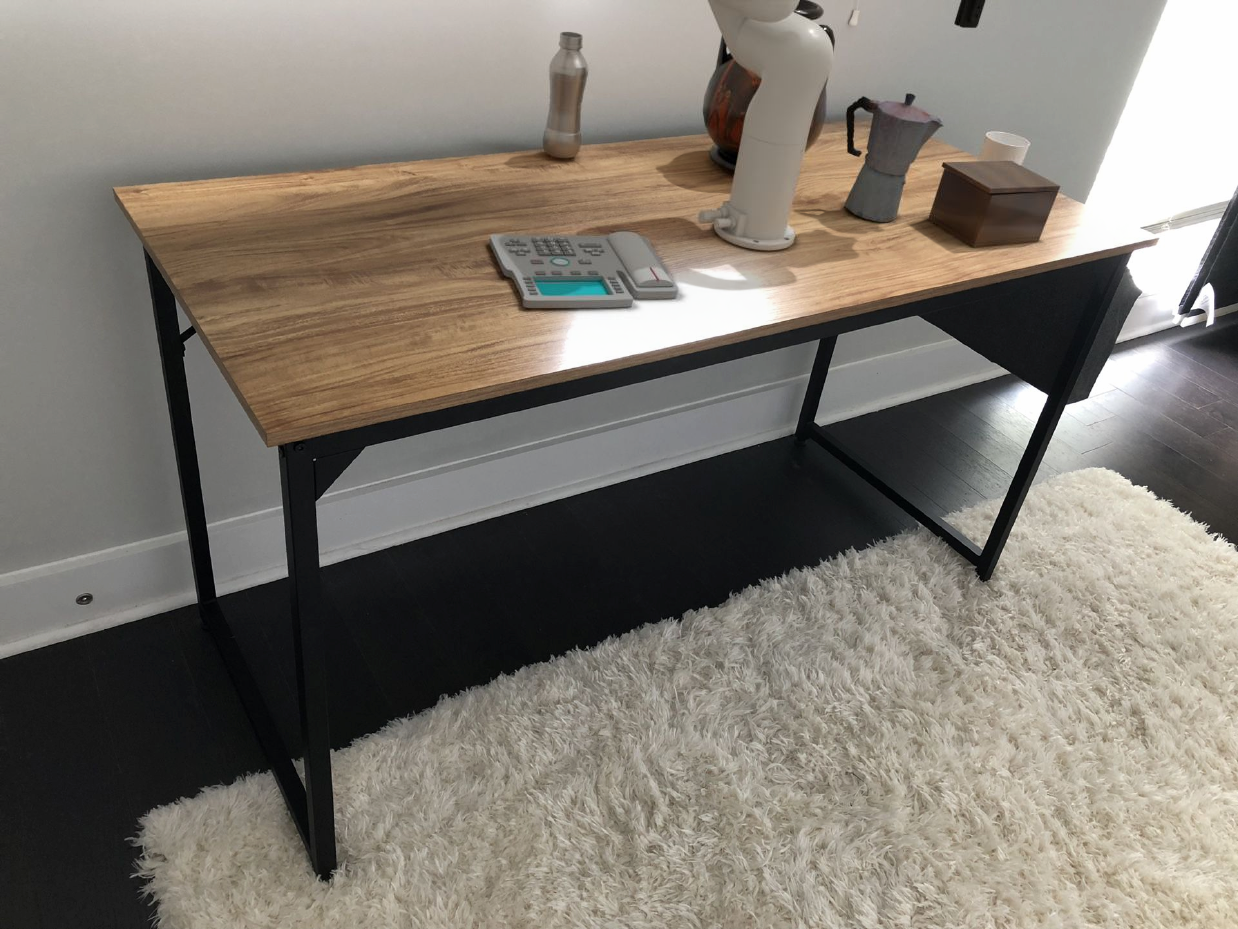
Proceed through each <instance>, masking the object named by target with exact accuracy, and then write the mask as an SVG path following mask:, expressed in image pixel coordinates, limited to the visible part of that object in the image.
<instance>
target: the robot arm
mask: <svg viewBox="0 0 1238 929" xmlns="http://www.w3.org/2000/svg"><path fill="white" fill-rule="evenodd" d="M986 1H987V0H960V3H959V6H958V10H957V13H956V15H955V19H954V23H953V24H954V25H955V26H957V27H960V28H963V29H976V28H977V27H978V26H979V24H980V23H979V22H980V20H981V17H982V13H983V10H984V7H985V4H986ZM707 2H708V5H709V7H710V10H711V12H712V14H713V17H714V19H715V22H716V24H717V27H718V29H719V31H720V34H721V37H722V36H723V38H724V41H725V43H726V45H727V50H728V51H729V53H731V55H732V56H733V58H734V59H735V61H736V62H737V63H738V64H739V65H741V66H742V67H743V68H745V69H746V70H748V71H749V72H751V73H753V74H755V75H756V76H758V77H759V78H761V79H762V81H761V84H760V86H759V88H758V90H757V92H756V93H755V95H754V97H753V98H752V100H751V102H750V104H749V107H748V109H747V113H746V116H745V121H744V126H743V132H742V137H741V143H740V148H739V153H738V158H737V163H736V168H735V173H734V175H733V179H732V185H731V189H730V194H729V200H723V201H722V205H721V206H720V207H718V208H717V209H715V210H714V209H713V210H712V209H704V210H700V211H699V213H698V222H699V223H700V224H713V229H714V232H715V233H716V234H717V235H718V236H719V237H721V239H723V240H725V241H727V242H728V243H731V244H733V245H736V246H738V247H742V248H745V249H752V250H757V251H779V250H784V249H787V248H789V247H791V246H792V245H793V244H794V242H795V238H796V232H795V230H794V229H793V227H792V226H791V225H789V221H790V220H789V219H790V216H791V212H792V208H793V203H794V199H795V194H796V190H797V185H798V180H799V177H800V174H801V169H802V168H801V167H802V164H803V160H804V155H805V153H806V152H805V148H806V143H807V138H808V134H809V130H810V126H811V122H812V118H813V114H814V111H815V108H816V105H817V102H818V99H819V96H820V94H821V91H822V89H823V87H824V85H825V83H826V80H827V78H828V79H829V76H830V72H831V70H832V67H833V62H834V53H833V47H832V43H831V40H830V38H829V36H828V35H827V33H826V32H825V31H824V30H823V29H822V28H821V27H820V26H819V25H820V24H818V23H816V22H815V21H814V20H813V21H811V20H810V19H807V18H805V17H803V16H801V15H799V14H797V13H794V10H795V9H796V7H797V5H798V3H799V0H707ZM827 81H828V80H827ZM804 152H805V153H804Z"/></svg>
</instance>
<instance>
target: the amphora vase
mask: <svg viewBox="0 0 1238 929" xmlns="http://www.w3.org/2000/svg"><path fill="white" fill-rule="evenodd" d="M794 13H797V14H799V15H801V16H803V17H805V18H807V19H810V20H811V21H813V22H814V21H815V20H816V21H817V20H819V19H820V18H822V17H823V15H824V13H825V10H824V9H823V7H822V6H821V5H820V4H818V3H816V2H814V1H812V0H799V3H798V5H797V7H796V9H795V10H794ZM818 25H819V26H820V27H821V28H822V29H823V30H824V31H825V32H826V33H827V35H828V36H829V38H830V40H831V43H832V47H833V54H834V52H835V45H836V38H835V34H834V30H833V29H832V28H831V27H830V26H828V25H827V24H818ZM727 50H728V47H727V45H726V43H725V41H724V38H723V36H722V35H721V37H720V42H719V47H718V52H717V59H716V65H715V69H714V71H713V73H712V74H711V77H710V79H709V81H708V84H707V88H706V89H705V93H704V96H703V102H702V110H701V111H702V116H703V122H704V127H705V128H706V131H707V133H708V136H709V137H710V139H711V141H712V142H713V143H714V144H713V145H712V146H711V148H710V149H709V151H708V158H709V160H710V162H711V163H712V164H713V165H714V166H715V167H716V168H718V169H719V170H720V171H722V172H723V173H727V174H728V175H731V176H734V173H735V168H736V163H737V158H738V153H739V148H740V143H741V137H742V132H743V126H744V121H745V116H746V113H747V109H748V107H749V104H750V102H751V100H752V98H753V97H754V95H755V93H756V92H757V90H758V88H759V86H760V84H761V81H762V79H761V78H759V77H758V76H756V75H755V74H753V73H751V72H749V71H748V70H746V69H745V68H743V67H742V66H741V65H739V64H738V63H737V62H736V61H735V59H734V58H733V56H732V55H731V53H730V52H728V51H727ZM828 80H829V77H828V78H827V80H826V83H825V85H824V87H823V89H822V91H821V94H820V96H819V99H818V102H817V105H816V108H815V111H814V114H813V118H812V122H811V126H810V130H809V134H808V138H807V143H806V148H805V152H804V154H805V153H807V152H808V151H809V150H810V149H811V148H812V147H813V146H814V145H815V144H816V142H817V140H818V139H819V137H820V136H821V134H822V132H823V128H824V125H825V120H826V118H827V106H828V98H827V96H828V95H827V85H828Z"/></svg>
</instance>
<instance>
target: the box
mask: <svg viewBox="0 0 1238 929" xmlns="http://www.w3.org/2000/svg"><path fill="white" fill-rule="evenodd" d="M1058 193H1059V191H1036V192H1011V193H987V192H986V191H984V190H982V189H980V188H978V187H977V186H975V185H973V184H971V183H970V182H968V181H966V180H964V179H962V178H961V177H959V176H957V175H955V174H954V173H952V172H950V171H948V170H946V169H945V168H943V171H942V175H941V177H940V181H939V183H938V186H937V190H936V193H935V196H934V199H933V203H932V205H931V209H930V212H929V214H928V217H927V219H928V220H929V221H931V222H932V223H934V224H935V225H937V226H938V227H940V228H942V229H943V230H945V231H947V233H950V234H952V236H954V237H956V238H958V239H959V240H961V241H962V242H964V243H965V244H967V245H969V246H970V247H972V248H983V247H992V246H1004V245H1013V244H1023V243H1025V244H1026V243H1034V242H1035V243H1036V242H1039V241H1040V239H1041V237H1042V234H1043V232H1044V229H1045V227H1046V224H1047V222H1048V219H1049V217H1050V214H1051V211H1052V208H1053V206H1054V204H1055V201H1056V198H1057V196H1058Z"/></svg>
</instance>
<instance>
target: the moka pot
mask: <svg viewBox="0 0 1238 929" xmlns="http://www.w3.org/2000/svg"><path fill="white" fill-rule="evenodd" d="M915 99H916V95H915V94H913V93H906V94H905V99H904V102H902V101H893V100H885V101H880V100H876V99H870V98H868V97H866V96H864V95H863V96H861V97H860V98H858V99H857V100H856V101H853V102H852V104H850V105H849V106H848V107H847V108H846V112H845V117H846V118H845V121H846V137H847V138H846V153H847V154H849V155H851V156H854V157H857V158H860V157H861V155H862V154H863V152H862V151H861V150H858V149H856V148H855V141H854V138H855V137H854V136H855V112H856V111H857V110H858V109H862V110H864V111H865V112H867V113H870V114H872V119H871V124H870V128H869V135H868V139H867V144H866V150H867V153H866V154H865V155H864V163H863V165H862V166H861V167H860V170H859V171H858V172H859V173H858V174H857V177H856V180H855V181H854V182H853V185H852V186H851V189H850V191H849V193H848V196H847V197H846V200H845V202H844V206H845V208H846V209H847V210H848V211H850V212H851V213H852V214H854V215H856V216H858V217H859V218H862V219H865V220H870V221H873V222H878V223H890V222H892V221H894V220H895V219H896V218H897V216H898V213H899V209H900V204H901V199H902V197H903V196H902V195H903V192H904V186H905V185H906V184H907V180H906V178H907V175H906V174H908V171H909V169H910V166H911V165H912V164H913V163H914V162H915V160H916V159H917V157H918V155H919V153H920V151H921V149H922V147H923V146H924V145H925V144H926V143H927V142H928V141H929V140H930V139H931V137H932V136H934V134H935V133H936V132H937V131H938V130H939V129H940V128H942V127H945V125H944V123H943V121H942V120H941V119H940V118H939V117H938V116H935V115H934V114H931V113H930V112H929V111H928V110H926V109H924V108H922V107H918V106H916V105H915V104H914V105H913V103H914V101H915Z"/></svg>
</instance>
